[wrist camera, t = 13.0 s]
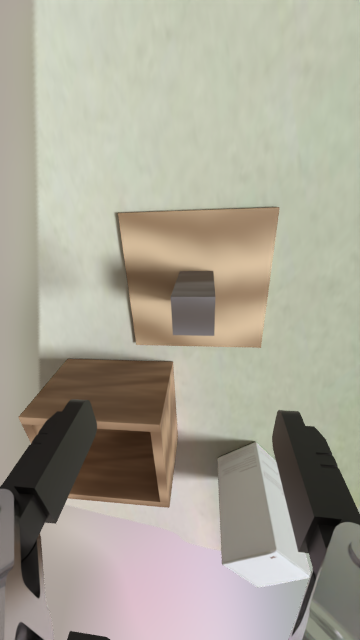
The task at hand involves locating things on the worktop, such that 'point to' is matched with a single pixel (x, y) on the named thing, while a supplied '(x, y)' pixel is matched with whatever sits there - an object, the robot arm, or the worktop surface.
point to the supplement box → (256, 520)
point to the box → (118, 427)
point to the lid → (199, 275)
